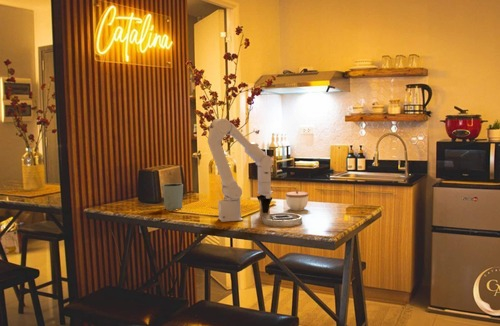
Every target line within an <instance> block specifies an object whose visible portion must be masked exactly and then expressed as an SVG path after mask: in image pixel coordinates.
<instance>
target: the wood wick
mask: <svg viewBox="0 0 500 326" xmlns="http://www.w3.org/2000/svg"><path fill="white" fill-rule="evenodd" d="M258 204H259V217H260V218H262V217H263V216H264V215H267V214H271V211H270V208H271V206H269V211H268V213H263V210H262V204H261V201H260V199H259V200H258Z"/></svg>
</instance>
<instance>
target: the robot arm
mask: <svg viewBox="0 0 500 326" xmlns="http://www.w3.org/2000/svg"><path fill="white" fill-rule="evenodd" d="M208 128H209V131H208V137H207V144H208V146H209V149H210V152H211V155H212V157H213V160H214V163H215V166H216V169H217V171H218V174H219V177H220V179H221V181H220V182H221V192H222V195H224V196H223V199H220V200H219V201H218V219H219V220H220V222H221V223H224V222H225V223H226V222H239V221H244V219H243V218H242V217H241V216H242V214H241V197H242V194H243V189H242V188H241V187H240V186H239V185H238V183H237V180H236V179H235V177H234V176H233V173H232V171H231V168H230V165H229V162H228V160H227V157H226V155H225V151H224V148H223V146H222V141H223V139H224V137H225V136H231V137H232V138H233V139H234V140H235V141H237V142H238V143H239V144H240V145H241V146H242V147H243V148H244V153H245V154H246V155H248V157H249V158H250V159H252V160H253V162H255V165H256V166H257V195H256V198H257V201H259V199H260V201H261V204H262V210H263V213H268V211H269V206H270V205H271V202H272V200H273V197H272V194H274V191H273V190H272V185H271V184H272V183H271V182H272V178H271V176H272V175H271V173H272V172H271V171H272V170H271V167H272V166H273V163H274V162H273V160H272V157H271V156H270V155H267V154H266V153H267V152H266V151H263V150H262V149H261V148H260V147H259V144H258V143H256V142H253V141H252V142H250V141H249V140H248V138H246V136H244V135H243V133H242V132H241V131H240V130H239V129H238V128H237V126H235V125H234V124H233V123H232V122H231V121H230V120H229V119H226V118H215V119H213V120H212V121H211V123H210V125H209V127H208ZM270 207H271V206H270Z"/></svg>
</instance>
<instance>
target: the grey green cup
mask: <svg viewBox="0 0 500 326" xmlns="http://www.w3.org/2000/svg"><path fill="white" fill-rule="evenodd" d="M161 188H162V195H163V204H164V210H165V209H166V210H165V211H177V210H176V209H180V210H182V209H183V198H184V196H183V194H184V184H183V183H179V182H176V183H175V182H173V183H164V184H162V186H161ZM181 208H182V209H181Z"/></svg>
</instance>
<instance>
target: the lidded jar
mask: <svg viewBox="0 0 500 326" xmlns="http://www.w3.org/2000/svg"><path fill="white" fill-rule="evenodd" d="M285 201H286V205H287V206H288V208H289V209H290V210H291V211H297V212H298V211H303V210H305V208H306V207H307V206H308V202H309V193H308V192H305V191H299V189H295V191H289V192H286V193H285Z"/></svg>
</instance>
